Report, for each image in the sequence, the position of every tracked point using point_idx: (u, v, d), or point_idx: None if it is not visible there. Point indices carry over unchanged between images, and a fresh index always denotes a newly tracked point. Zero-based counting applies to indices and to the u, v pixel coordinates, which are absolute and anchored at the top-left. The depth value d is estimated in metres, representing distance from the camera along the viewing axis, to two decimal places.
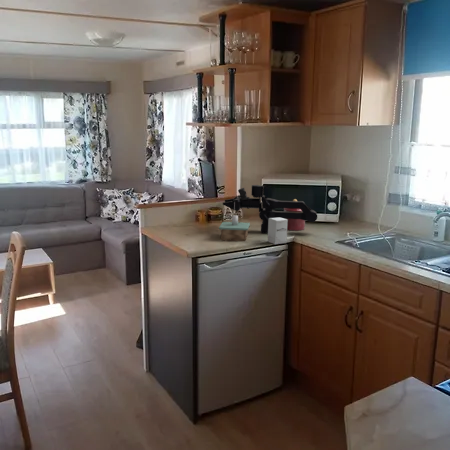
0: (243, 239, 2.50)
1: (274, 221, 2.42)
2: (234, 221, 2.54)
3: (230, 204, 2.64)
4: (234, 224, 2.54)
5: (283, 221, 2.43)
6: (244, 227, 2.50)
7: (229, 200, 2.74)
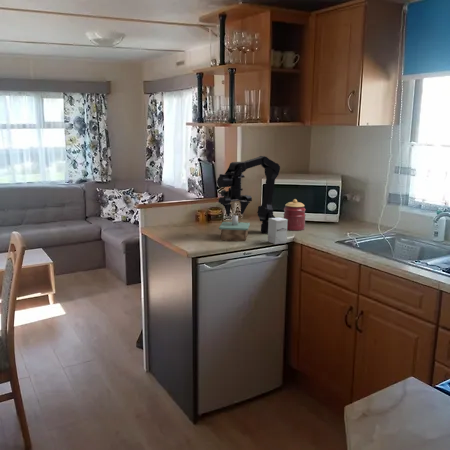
0: (243, 239, 2.50)
1: (274, 221, 2.42)
2: (234, 221, 2.54)
3: (226, 207, 2.50)
4: (234, 224, 2.54)
5: (283, 221, 2.43)
6: (244, 227, 2.50)
7: (241, 209, 2.57)
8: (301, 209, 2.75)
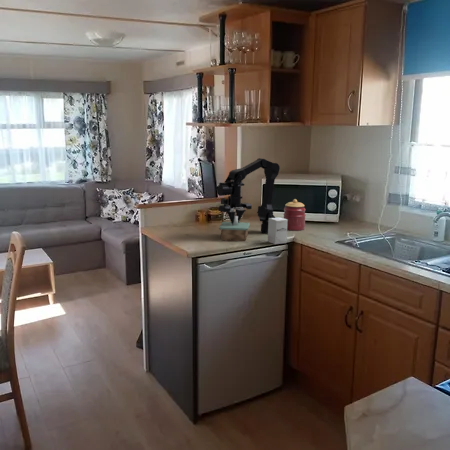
0: (243, 239, 2.50)
1: (274, 221, 2.42)
2: (234, 221, 2.54)
3: (230, 215, 2.52)
4: (234, 224, 2.54)
5: (283, 221, 2.43)
6: (244, 227, 2.50)
7: None
8: (301, 209, 2.75)
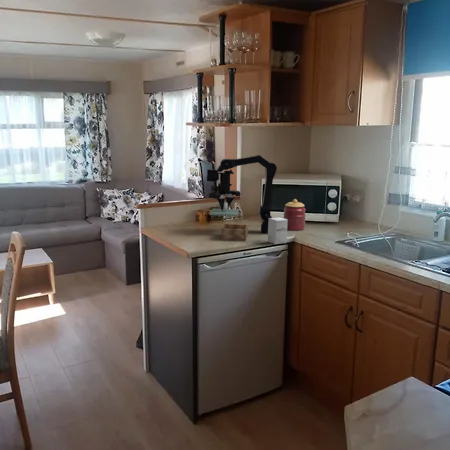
0: (243, 239, 2.50)
1: (274, 221, 2.42)
2: (224, 207, 2.64)
3: (220, 202, 2.63)
4: (224, 210, 2.65)
5: (283, 221, 2.43)
6: (233, 213, 2.61)
7: None
8: (301, 209, 2.75)
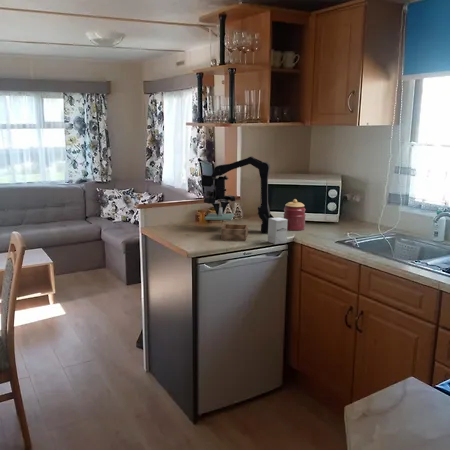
0: (243, 239, 2.50)
1: (274, 221, 2.42)
2: (219, 212, 2.72)
3: (215, 206, 2.71)
4: (219, 215, 2.72)
5: (283, 221, 2.43)
6: (228, 217, 2.68)
7: None
8: (301, 209, 2.75)
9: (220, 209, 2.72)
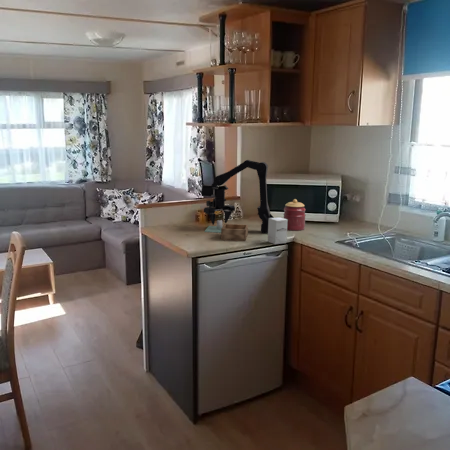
0: (243, 239, 2.50)
1: (274, 221, 2.42)
2: (218, 225, 2.74)
3: (211, 217, 2.71)
4: (218, 228, 2.74)
5: (283, 221, 2.43)
6: None
7: (225, 218, 2.77)
8: (301, 209, 2.75)
9: (220, 222, 2.73)
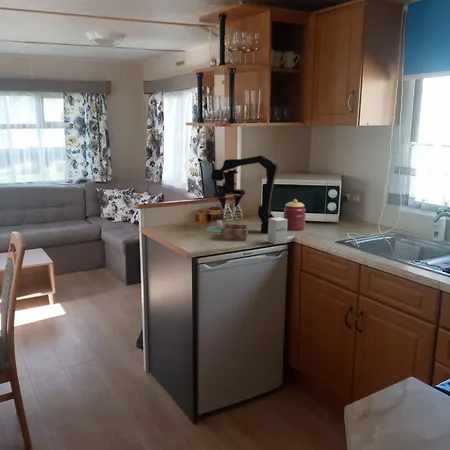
0: (243, 239, 2.50)
1: (274, 221, 2.42)
2: (218, 225, 2.74)
3: (222, 201, 2.70)
4: (218, 228, 2.74)
5: (283, 221, 2.43)
6: None
7: (235, 202, 2.77)
8: (301, 209, 2.75)
9: (220, 222, 2.73)
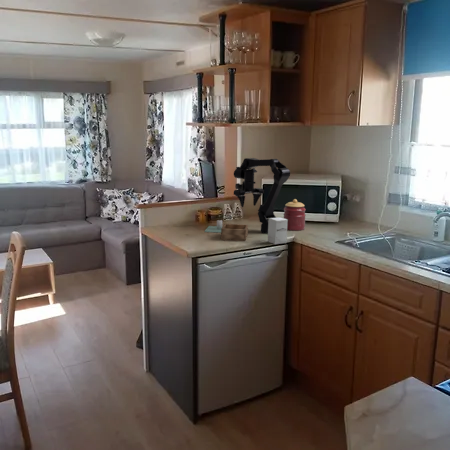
0: (243, 239, 2.50)
1: (274, 221, 2.42)
2: (218, 225, 2.74)
3: (241, 199, 2.74)
4: (218, 228, 2.74)
5: (283, 221, 2.43)
6: None
7: (253, 200, 2.81)
8: (301, 209, 2.75)
9: (220, 222, 2.73)
